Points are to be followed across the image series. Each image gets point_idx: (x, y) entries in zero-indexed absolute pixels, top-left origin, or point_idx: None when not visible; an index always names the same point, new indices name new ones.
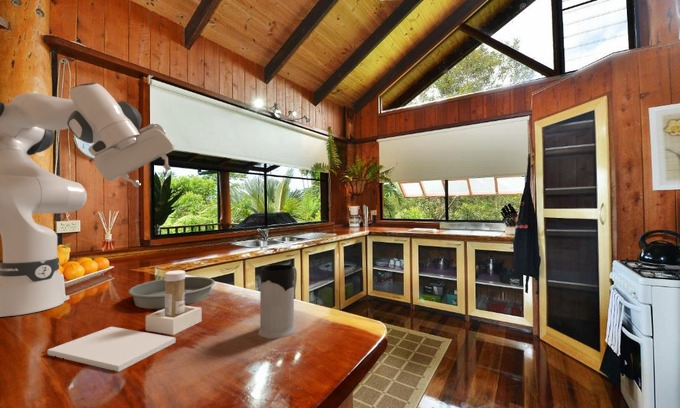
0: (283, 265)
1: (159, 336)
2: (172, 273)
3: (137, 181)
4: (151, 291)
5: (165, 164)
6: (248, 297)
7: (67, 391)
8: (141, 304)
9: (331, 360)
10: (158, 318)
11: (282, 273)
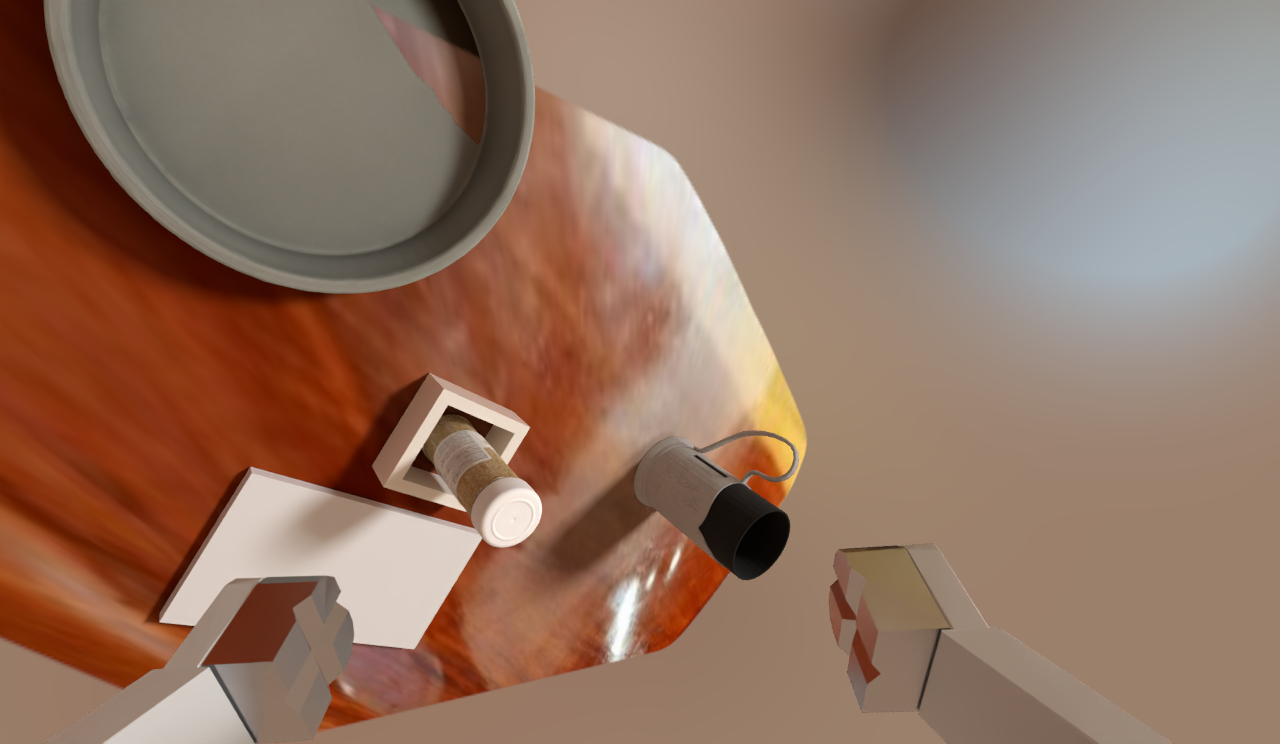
0: (779, 511)
1: (443, 532)
2: (511, 542)
3: (326, 698)
4: None
5: (917, 707)
6: (630, 203)
7: (352, 701)
8: (224, 229)
9: (708, 568)
10: (429, 500)
11: (758, 569)
